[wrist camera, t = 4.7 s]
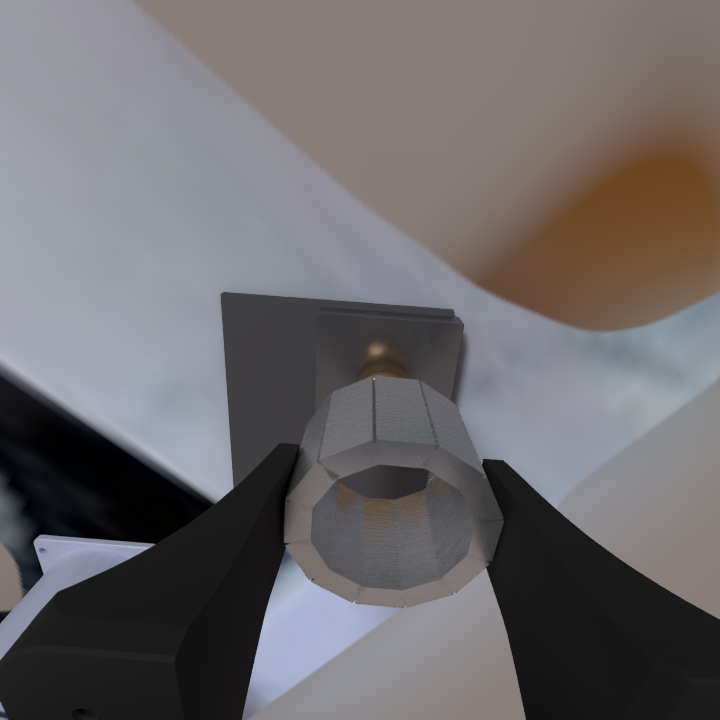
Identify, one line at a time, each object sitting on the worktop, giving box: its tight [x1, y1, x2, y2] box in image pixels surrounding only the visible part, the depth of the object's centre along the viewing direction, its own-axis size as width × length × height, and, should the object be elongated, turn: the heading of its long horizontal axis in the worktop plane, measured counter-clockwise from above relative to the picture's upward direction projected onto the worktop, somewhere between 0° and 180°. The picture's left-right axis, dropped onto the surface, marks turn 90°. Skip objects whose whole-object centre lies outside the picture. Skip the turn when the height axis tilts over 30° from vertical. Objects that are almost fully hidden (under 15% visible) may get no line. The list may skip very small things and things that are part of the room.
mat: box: [221, 292, 454, 500], centre depth 21 cm, size 14×11×1 cm
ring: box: [284, 376, 504, 608], centre depth 12 cm, size 6×6×4 cm
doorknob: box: [315, 307, 464, 413], centre depth 17 cm, size 6×6×5 cm
